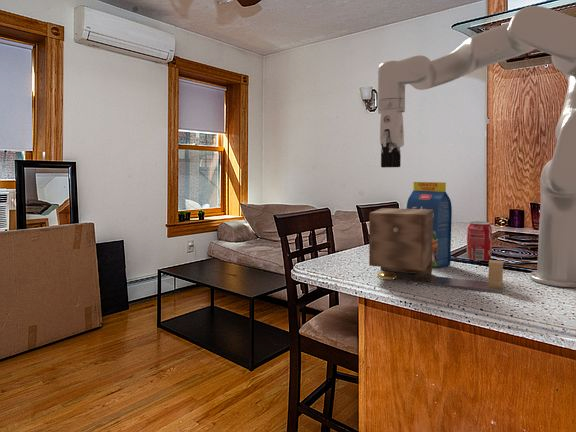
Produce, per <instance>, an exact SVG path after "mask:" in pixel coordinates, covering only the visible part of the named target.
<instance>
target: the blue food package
mask: <svg viewBox="0 0 576 432" xmlns="http://www.w3.org/2000/svg"><path fill="white" fill-rule="evenodd" d="M446 186H447V183H446V182H440V181H437V182H435V181H434V182H433V181H428V182H427V181H413V190H412V191H411V193H410V195H409V197H408V199H407V202H406V209H433V240H432V268H436V269H437V268H442V267H443V268H444V267H448V266H450V265H451V258H452V257H451V254H452V253H451V250H452V249H451V248H452V217H453V216H452V213H453V209H452V208H453V206H452V200H451V198H450V196H449V194H448V193H447V192H446Z"/></svg>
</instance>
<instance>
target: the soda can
mask: <svg viewBox="0 0 576 432" xmlns="http://www.w3.org/2000/svg"><path fill="white" fill-rule="evenodd" d="M466 233H467V237H466V258H467V259H469V260H470V259H471V260H477V261H487V262H489V260H492V253H493V252H492V251H493V249H492V247H493V228H492V226H491V222H489V221H470V222H469V225H468V226H467V231H466ZM471 260H470V261H471Z"/></svg>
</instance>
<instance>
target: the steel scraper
mask: <svg viewBox="0 0 576 432" xmlns="http://www.w3.org/2000/svg"><path fill="white" fill-rule="evenodd" d="M503 273H504V260H496V259H495V260H494V259H490V260H488V277H487V278H488V279H487V281H485V280H476V279H475V280H474V279H465V278H456V277H455V278H454V277H447V276H445V277H444V276H435V275H434V276H433V275H427V274H414V275H413V276H412V277H411V278H410V280H409V284H411V283H417V284H416V285H420V284H426V285H425V286H429V285H434V286H433V287H438V286H440V287H439V288H447V287H451V289H457V288H459V289H460V290H466V291H467V290H468V291H475V292H476V291H478V292H485V293H495V294H503V281H504V280H503V278H504V277H503V275H504V274H503Z"/></svg>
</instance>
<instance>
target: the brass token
mask: <svg viewBox="0 0 576 432" xmlns="http://www.w3.org/2000/svg"><path fill="white" fill-rule="evenodd" d="M397 275H398V274H396V273H395V272H393V271H380V272H377V278H378V277H380V278H384V279H393V278H396V277H397ZM384 279H383V280H384ZM396 279H397V278H396ZM393 280H394V279H393Z"/></svg>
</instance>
